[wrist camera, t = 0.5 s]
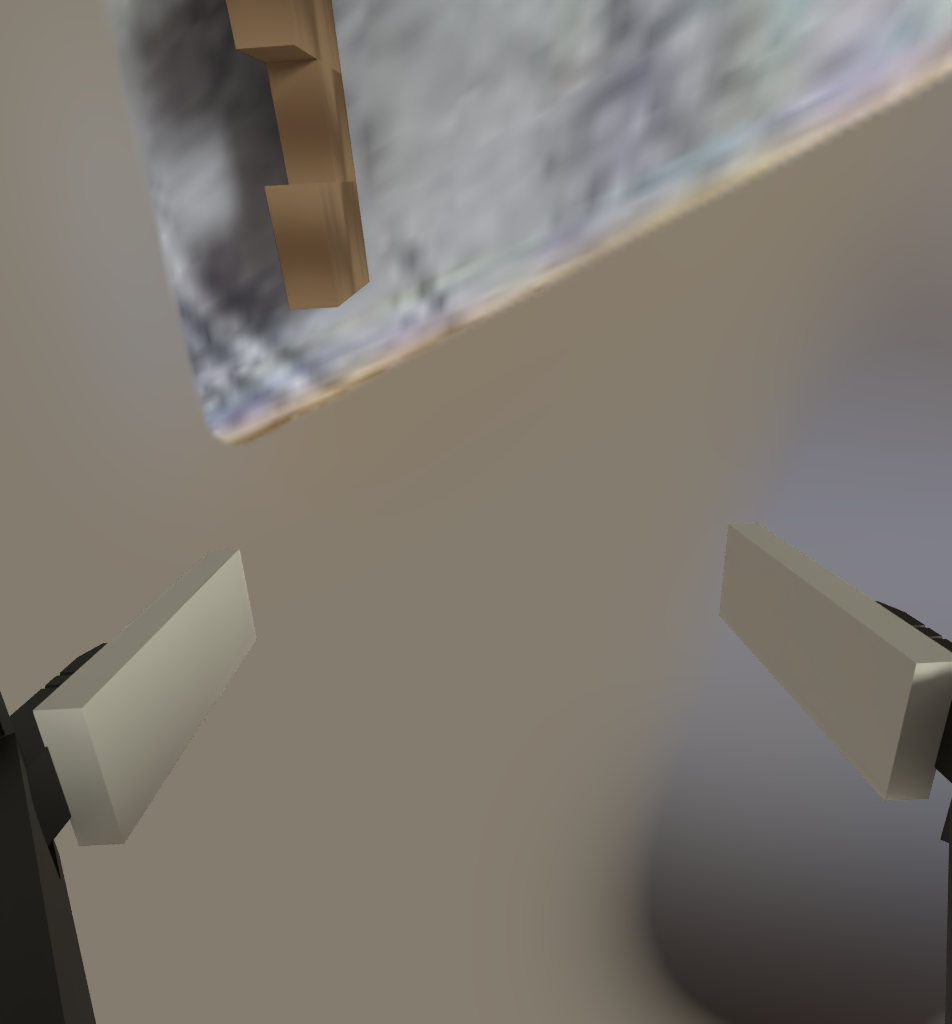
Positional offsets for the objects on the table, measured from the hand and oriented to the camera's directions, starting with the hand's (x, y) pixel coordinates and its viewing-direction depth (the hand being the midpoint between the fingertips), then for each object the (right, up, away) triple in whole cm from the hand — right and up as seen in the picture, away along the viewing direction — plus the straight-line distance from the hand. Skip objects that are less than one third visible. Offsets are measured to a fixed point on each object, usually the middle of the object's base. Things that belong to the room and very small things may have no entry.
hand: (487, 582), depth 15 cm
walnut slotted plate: (-9, +23, +17) cm, 30 cm away
